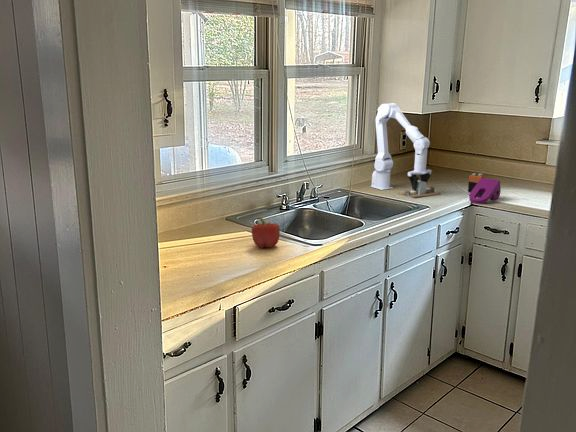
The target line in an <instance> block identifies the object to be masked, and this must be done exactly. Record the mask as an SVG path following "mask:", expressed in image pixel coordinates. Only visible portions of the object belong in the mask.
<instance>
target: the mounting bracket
mask: <svg viewBox="0 0 576 432" xmlns="http://www.w3.org/2000/svg"><path fill="white" fill-rule="evenodd" d="M501 191H502V189H501V180H499V179H491V178H486V177H485V178H481V179H480V180H479V182H478V183H477V184H476V186H475V187H474V188H473V190H472V191H471V192H469V194H468V196H469V197H468V198H469V202H471V203H472V204H479V205H481V204H485V203H488V202H489V200H490V201H491V200H492V201H498V200H499V198H500V196H501Z"/></svg>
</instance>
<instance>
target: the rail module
mask: <svg viewBox="0 0 576 432" xmlns="http://www.w3.org/2000/svg"><path fill="white" fill-rule="evenodd" d="M426 188H427V184H426V182H423V181H421V180H419V179H418V182H417V188H416V190H418V194H419V195H422V194H426ZM410 191H413V189H412V187H411V190H410Z"/></svg>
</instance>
